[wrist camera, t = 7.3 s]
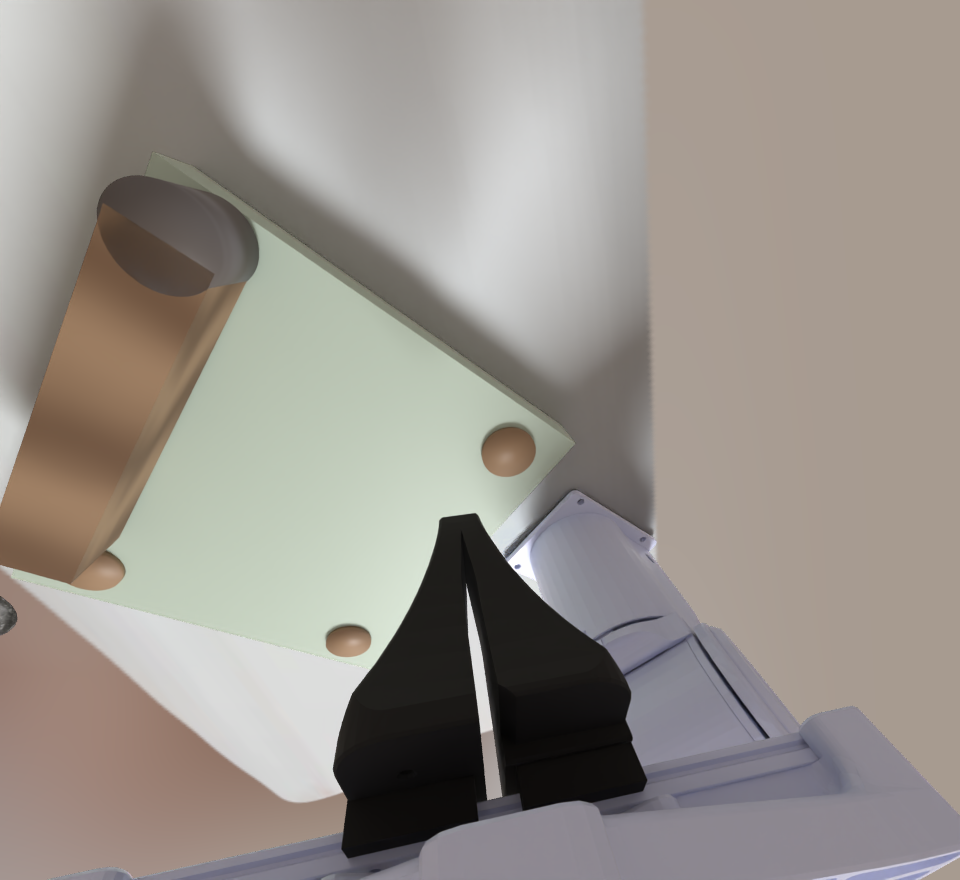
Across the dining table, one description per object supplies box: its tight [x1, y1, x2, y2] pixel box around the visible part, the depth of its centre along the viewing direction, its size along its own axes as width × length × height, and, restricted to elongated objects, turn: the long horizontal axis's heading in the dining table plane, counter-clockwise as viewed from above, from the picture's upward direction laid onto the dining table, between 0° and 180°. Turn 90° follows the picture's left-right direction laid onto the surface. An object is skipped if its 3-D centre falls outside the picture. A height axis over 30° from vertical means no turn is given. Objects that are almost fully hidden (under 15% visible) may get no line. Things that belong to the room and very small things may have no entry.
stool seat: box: [11, 152, 576, 669], centre depth 21 cm, size 21×23×3 cm
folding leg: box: [0, 175, 259, 584], centre depth 14 cm, size 18×3×3 cm, turn 141°
